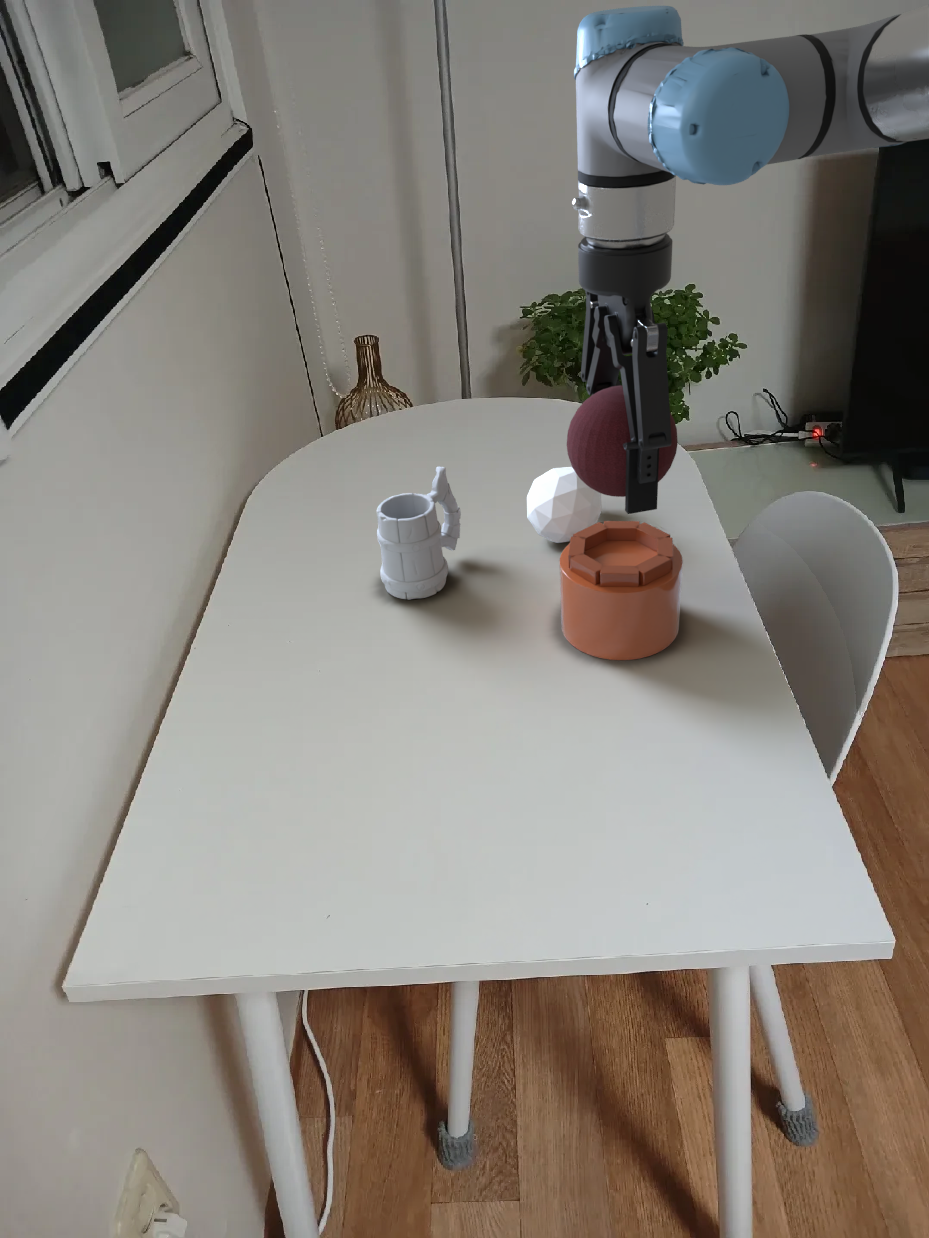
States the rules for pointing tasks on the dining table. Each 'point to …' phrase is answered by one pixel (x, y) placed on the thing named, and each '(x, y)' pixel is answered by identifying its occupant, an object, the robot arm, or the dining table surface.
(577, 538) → the pedestal
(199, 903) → the dining table surface
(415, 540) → the mug
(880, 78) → the robot arm
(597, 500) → the perfume bottle
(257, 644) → the dining table surface
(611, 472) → the decorative ball
